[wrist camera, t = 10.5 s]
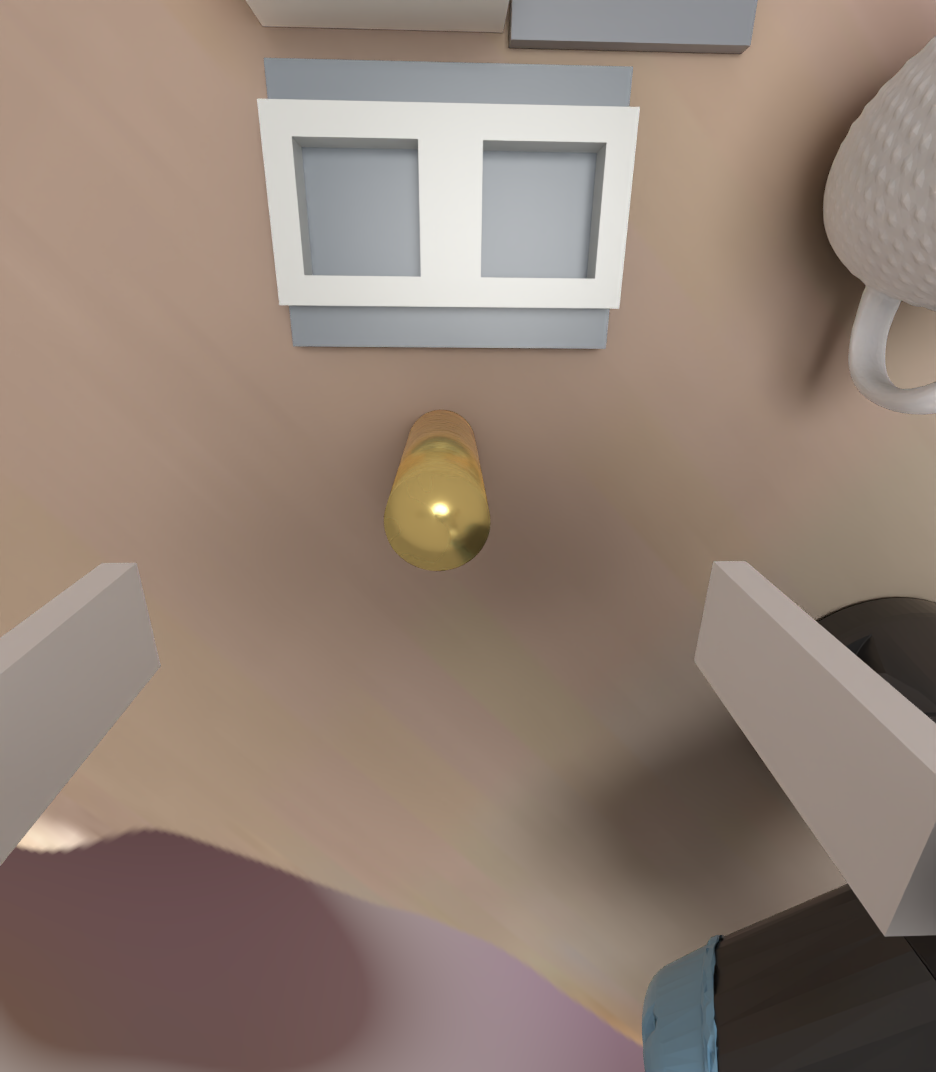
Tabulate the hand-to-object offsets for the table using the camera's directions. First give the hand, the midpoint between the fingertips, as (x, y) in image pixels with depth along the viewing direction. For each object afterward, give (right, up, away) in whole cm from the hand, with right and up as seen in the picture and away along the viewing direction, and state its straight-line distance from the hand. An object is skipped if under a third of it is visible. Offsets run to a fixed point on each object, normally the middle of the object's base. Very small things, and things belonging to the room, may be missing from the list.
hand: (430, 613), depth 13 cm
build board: (0, +16, +13) cm, 21 cm away
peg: (0, +7, +17) cm, 18 cm away
